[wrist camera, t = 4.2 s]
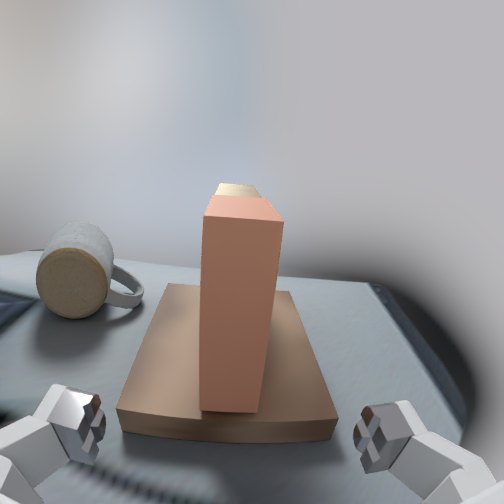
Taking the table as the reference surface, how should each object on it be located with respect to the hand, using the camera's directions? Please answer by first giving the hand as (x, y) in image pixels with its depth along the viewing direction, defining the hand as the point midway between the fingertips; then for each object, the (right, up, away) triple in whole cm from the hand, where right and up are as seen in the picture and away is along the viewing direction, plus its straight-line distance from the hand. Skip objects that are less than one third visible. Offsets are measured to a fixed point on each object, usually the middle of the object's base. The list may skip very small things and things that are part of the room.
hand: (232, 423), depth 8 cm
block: (-1, -2, +9) cm, 10 cm away
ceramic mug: (-16, 0, +20) cm, 25 cm away
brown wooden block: (-1, -3, +15) cm, 15 cm away
